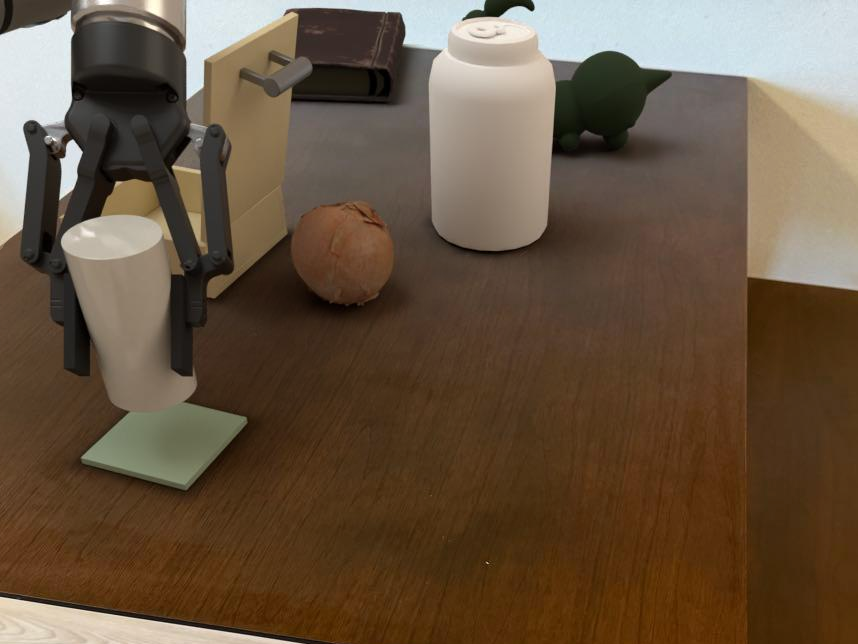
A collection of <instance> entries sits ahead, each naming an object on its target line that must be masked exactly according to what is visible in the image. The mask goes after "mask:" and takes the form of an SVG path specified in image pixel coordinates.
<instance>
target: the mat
mask: <svg viewBox="0 0 858 644" xmlns="http://www.w3.org/2000/svg"><path fill="white" fill-rule="evenodd" d="M247 424H248V419H247V417H246V416H244V415H243V416H242V415H239V414H234V413H230V412H226V411H223V410H218V409H214V408H209V407H205V406H201V405H197V404H193V403H189V402H185V401H184V402H182V403H180V404H178V405H176V406H174V407H171V408H168V409H165V410H161V411H155V412H132V411H128V413H126V414H125V415H124V417H123V418H122V419H120V420H119V421H118V422H117V423H116V424H114V426H112V427H111V429H109V430H108V431H107V432H106V433H105V434H104V435H103V436H102V437H101V438H100V439H99V440H98V441H97V442H95V444H93V445H92V446H91V447H90V448H89V449H88V450H87V451H86V452H85V453H84V454H83V455H82V456H81V457H80V460H81V463H82V464H83V465H86V466H91V467H95V468H99V469H103V470H106V471H109V472H113V473H118V474H121V475H125V476H129V477H132V478H137V479H141V480H144V481H148V482H151V483H156V484H159V485H162V486H163V485H164V486H167V487H171V488H174V489H179V490H181V491H187V490H188V489H189V488H190V487H191V486H192V485H193V484H194V483H195V482H196V481H197V479H199V477H200V476H202V474H203V473H204V472H205V470H207V469H208V467H209V466H210V465H211V464H212V463H213V462H214V461H215V460H216V458H217V457H218V456H219V455H220V454H221V453H222V452H223V451H224V449H225V448H226V447H227V446H228V445H230V443H231V442H232V441H233V440H234V438H236V437H237V435H239V433H240V432H241V431H242V430H243V429H244V427H245V426H247Z"/></svg>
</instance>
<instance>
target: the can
mask: <svg viewBox="0 0 858 644" xmlns="http://www.w3.org/2000/svg"><path fill="white" fill-rule="evenodd" d="M553 68H554V67H553V63H552V62H551V61H550V60H549V59H548V58H547V57H546V56H545V54H544V53H542V51H541V50H540V49H539V37H538V34H537V30H536V29H535V28H534V27H533V26H532V25H530V24H527V23H525V22H522V21H520V20H517V19H512V18H506V17H501V16H500V17H480V18H472V19H467V20H464V21H462V20H461V21H458V22H456V23H454V24H453V25H452V26H451V28H450V29H449V33H448V35H447V46H446V47H444V48H443V50H441V52H439V54H438V55H437V56H436V57H435V58H434V59H433V60H432V65H431V70H430V73H429V78H428V109H429V110H428V111H429V112H428V114H429V152H430V155H429V156H430V157H429V158H430V160H429V161H430V195H431V201H430V202H431V223H432V225H433V227H434V229H435V231H436V232H437V234H438V235H439V236H440V237H442V238H443V239H444V240H446V241H447V242H448V243H450V244H454V245H456V246H459V247H461V248H464V249H465V248H466V249H471V250H476V251H487V252H488V251H491V252H500V251H509V250H516V249H519V248H523V247H526V246H528V245H529V246H530V245H531V244H533V243H534V242H535V241H537V240H539V239H540V238H541V236H542V235H543V234H544V232H545V230H546V228H547V226H548V217H549V204H550V203H549V201H550V200H549V199H550V187H551V186H550V185H551V169H552V156H553V155H552V154H553V153H552V152H553V139H554V138H553V123H554V107H555V92H556V85H555V82H556V79H555V78H556V77H555V73H554V69H553Z"/></svg>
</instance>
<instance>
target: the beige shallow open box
mask: <svg viewBox="0 0 858 644" xmlns="http://www.w3.org/2000/svg"><path fill="white" fill-rule="evenodd" d="M172 168H173V171H174V173H175V176H176V179H177V182H178V185H179V188H180V194H181V197H182V199H183V202H184V205H185V208H186V211H187V214H188V217H189V219H190V222H191V225H192V228H193V231H194V234H195V237H196V239H197V242H198V245H199V248H200V251H201V254H202V255H204V254H207V253H208V246H207V244H206V243H204V242H201V241H200V238H201V190H202V180H201V170H200V169H195V168H189V167H185V166H180V165H179V166H178V165H175V164H174V165H173V166H172ZM284 206H285V205H284V197H283V190H282V184H281V185H280V186H278V187H277V188H276V189H275V190H273V191H272V192H271V193H270V194H268V195H267V196H266V197H265V198H264V199H262V200H261V201H260V202H259V203H257V204H256V205H255V206H254V207H252V208H251V209H250V210H249V211H247V212H246V213H245V214H244V215H242V216H241V217H240V218H239V219H237V220H236V221H235V222H234V223H232V224H231V236H232V247H233V258H234V270H233V272H232V273H231V274H230V275H219V276H216V277H214V278H212V279H211V280H210V281H209V282H208V285H207V298H210V299H216V298H217V297H218V296H219V295H220V294H222V293H223V292H224V291H225V290H226V289H227V288H229V286H231V285H232V284H233V283H235V281H236V280H238V278H239V277H241V276H242V275H243V274H244V273H245V272H246V271H247V270H248V269H250V268H251V267H252V266H253V265H254V264H255V263H257V262H258V261H259V260H260V259H261V258H262V257H263V256H264V255H266V254H267V253H268V252H269V251H270V250H272V249H273V247H274V246H276V245H277V244H278V243H279V242H280V241H282V239H284V238H285V237H286V236H287V235H288V227H287V220H286V219H287V218H286V212H285V207H284ZM64 215H65V213H63V214H62V215H60V216H58V219H59V222H60V224H61V223H62V220H63V217H64ZM110 215H135V216H141V217H145V218H148V219H151V220H153V221H155V222H156V223H158V224H159V225H160V226H161V228H162V230H163V234H164V238H165V243H166V247H167V251H168V256H169V260H170V265H171V269H172V273H173V274H182V275H183V276H184V270H183V269H182V268H181V267H180V264H181V263H180V260H179V257H178V254H177V251H176V248H175V245H174V243H173V240H172V237H171V234H170V231H169V228H168V225H167V223H166V220H165V217H164V214H163V211H162V208H161V205H160V203H159V200H158V197H157V194H156V191H155V188H154V185H153V183H152V182H144V181H141V180H137V179H132V180H128V181H124V182H116V184H115V187H114V190H113V192H112V194H111V195H110V196H108V197H107V199H106V202H105V205H104V208H103V211H102V214H101V216H100V217H103V216H110Z"/></svg>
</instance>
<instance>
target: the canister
mask: <svg viewBox="0 0 858 644" xmlns="http://www.w3.org/2000/svg"><path fill="white" fill-rule="evenodd" d="M61 246H62V249H63V252H64V256H65V259H66V262H67V265H68V269H69V272H70V275H71V278H72V282H73V285H74V288H75V291H76V294H77V298H78V301H79V304H80V307H81V311H82V314H83V317H84V320H85V323H86V327H87V330H88V333H89V336H90V344H91V346H92V349H93V352H94V356H95V358H96V359H95V360H96V362H97V366H98V369H99V372H100V375H101V378H102V381H103V384H104V388H105V391H106V394H107V397H108V400H109V401H110V402H111V403H112V404H113V405H114V406H116V407H117V408H119V409H122V410H124V411H126V412H127V411H128V412H130V411H132V412H155V411H161V410H165V409H168V408H171V407H174V406H176V405H178V404H180V403H182V402H185V401H186V400H188V399H189V398H190V397H191V396H192V395H193V394H194V393H195V391H196V389H197V386H198V378H197V373H196V370H195V369H196V368H195V365H194V364H193V377H182V376H181V375H179V374H178V373H176V372H175V371H173V370H172V369H171V274H173V273H172V269H171V265H170V260H169V256H168V251H167V247H166V243H165V238H164V234H163V230H162V228H161V226H160V225H159V224H158V223H156V222H155V221H153V220H151V219H148V218H145V217H141V216H135V215H110V216H103V217H98V218H94V219H90V220H87V221H84V222H82V223H79V224H77V225H75V226H73V227H72V228H70V229H69V230H68V231H67V232H66V233H65V234H64V235H63V236H62V239H61Z"/></svg>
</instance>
